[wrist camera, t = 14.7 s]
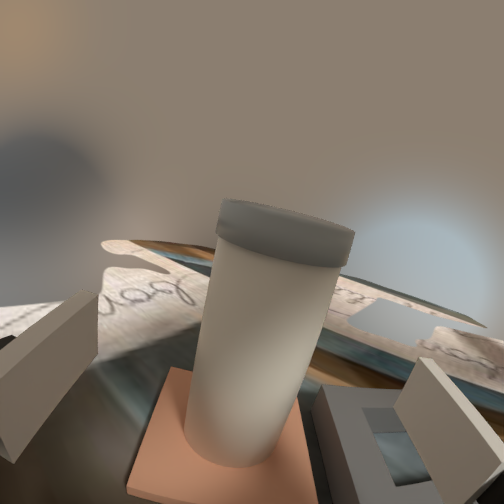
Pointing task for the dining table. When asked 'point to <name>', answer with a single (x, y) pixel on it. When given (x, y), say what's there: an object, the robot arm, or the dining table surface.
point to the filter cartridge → (259, 327)
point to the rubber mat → (212, 475)
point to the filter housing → (362, 447)
